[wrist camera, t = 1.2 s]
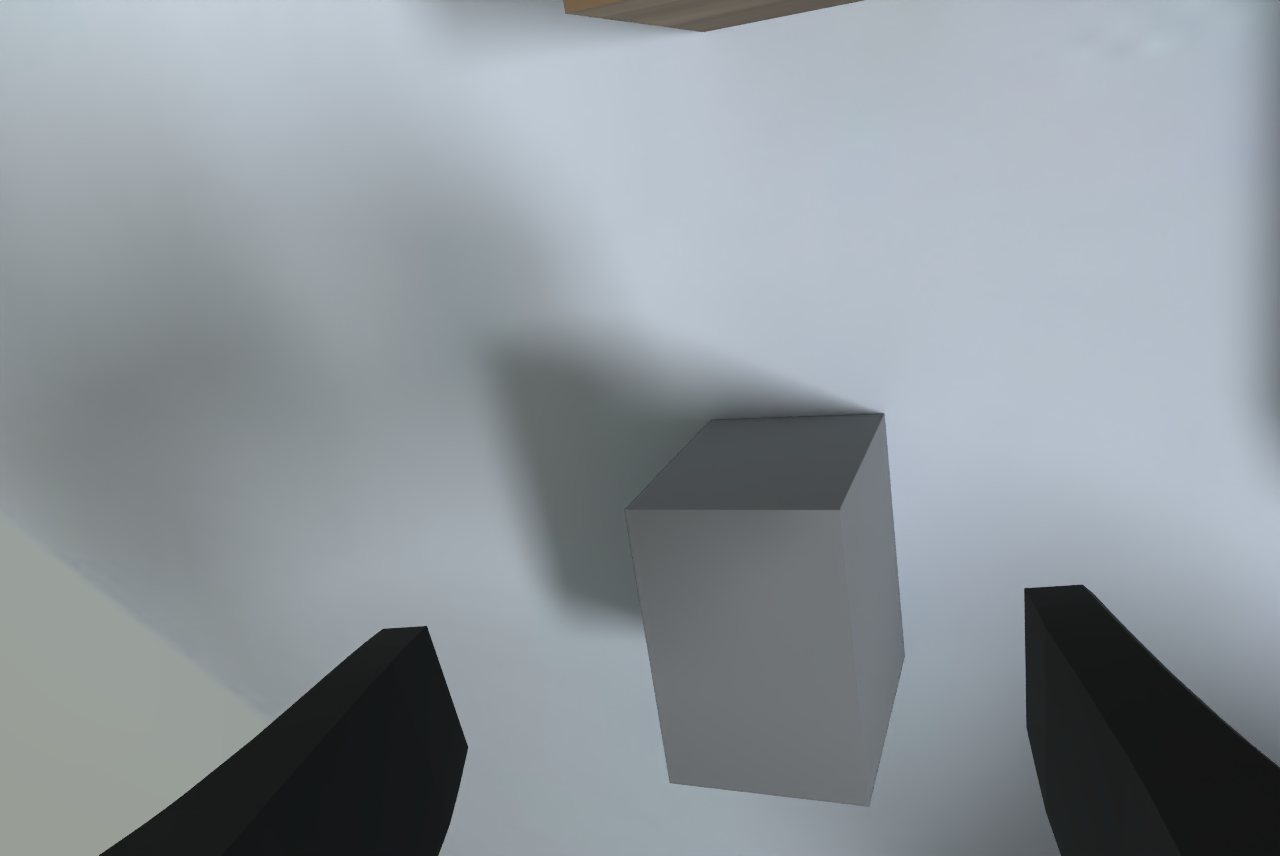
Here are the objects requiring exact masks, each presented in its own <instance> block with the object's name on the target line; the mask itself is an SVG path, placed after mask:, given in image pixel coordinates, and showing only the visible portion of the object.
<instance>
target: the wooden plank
mask: <svg viewBox="0 0 1280 856" xmlns="http://www.w3.org/2000/svg"><path fill="white" fill-rule="evenodd" d="M563 1H564V7H565V13H566V14H573V15H581V16H589V17H596V18H604V19H611V20H619V21H626V22H634V23H641V24H649V25H656V26H664V27H671V28H679V29H686V30H694V31H701V32H706V31H711V30H716V29H721V28H726V27H731V26H736V25H741V24H746V23H751V22H757V21H762V20H767V19H772V18H777V17H782V16H787V15H792V14H797V13H802V12H807V11H812V10H817V9H822V8H827V7H832V6H837V5H843V4H848V3H853V2H858V1H863V0H563Z"/></svg>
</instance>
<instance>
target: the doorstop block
mask: <svg viewBox="0 0 1280 856" xmlns="http://www.w3.org/2000/svg"><path fill="white" fill-rule="evenodd" d="M625 516H626V522H627V528H628V534H629V540H630V546H631V552H632V558H633V564H634V570H635V576H636V582H637V588H638V594H639V600H640V606H641V612H642V618H643V624H644V630H645V636H646V642H647V648H648V654H649V660H650V667H651V673H652V679H653V685H654V691H655V697H656V703H657V709H658V715H659V721H660V727H661V733H662V739H663V745H664V751H665V757H666V763H667V769H668V775H669V781H670V783H674V784H682V785H690V786H699V787H707V788H716V789H724V790H733V791H741V792H750V793H758V794H767V795H775V796H784V797H792V798H801V799H809V800H818V801H826V802H835V803H843V804H852V805H860V806H869V805H870V801H871V796H872V792H873V788H874V784H875V779H876V775H877V771H878V767H879V763H880V758H881V754H882V750H883V746H884V741H885V737H886V733H887V729H888V725H889V720H890V716H891V712H892V708H893V703H894V699H895V695H896V691H897V686H898V682H899V678H900V674H901V670H902V665H903V661H904V657H905V653H904V641H903V629H902V617H901V605H900V593H899V581H898V569H897V557H896V545H895V533H894V521H893V509H892V497H891V485H890V473H889V461H888V449H887V437H886V425H885V414H859V415H831V416H803V417H774V418H746V419H718V420H710V421H709V422H708V423H707V425H706V426H705V427H704V428H703V429H702V430H701V431H700V432H699V433H698V434H697V435H696V436H695V437H694V438H693V439H692V440H691V441H690V442H689V443H688V444H687V445H686V446H685V447H684V448H683V449H682V450H681V452H680V453H679V454H678V455H677V456H676V457H675V458H674V459H673V460H672V461H671V462H670V463H669V464H668V465H667V466H666V467H665V468H664V469H663V470H662V471H661V472H660V473H659V474H658V475H657V476H656V477H655V479H654V480H653V481H652V482H651V483H650V484H649V485H648V486H647V487H646V488H645V489H644V490H643V491H642V492H641V493H640V494H639V495H638V496H637V497H636V498H635V499H634V500H633V501H632V502H631V503H630V504H629V506H628V507H627V508H626V509H625Z"/></svg>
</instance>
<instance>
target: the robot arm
mask: <svg viewBox="0 0 1280 856" xmlns="http://www.w3.org/2000/svg"><path fill="white" fill-rule="evenodd" d="M1024 593H1025V657H1026V720H1027V731H1028V736H1029V740H1030V745H1031V749H1032V754H1033V758H1034V763H1035V767H1036V771H1037V776H1038V780H1039V784H1040V788H1041V793H1042V797H1043V801H1044V805H1045V810H1046V813H1047V816H1048V819H1049V822H1050V825H1051V828H1052V831H1053V833H1054V836H1055V839H1056V842H1057V845H1058V848H1059V850H1060V853H1061V856H1280V767H1279V766H1277V765H1276V764H1275V763H1274V762H1272V761H1271V760H1270V759H1269V758H1268V757H1266V756H1265V755H1264V754H1263V753H1261V752H1260V751H1259V750H1258V749H1257V748H1255V747H1254V746H1253V745H1252V744H1250V743H1249V742H1248V741H1247V740H1246V739H1245V738H1243V737H1242V736H1241V735H1240V734H1239V733H1238V732H1236V731H1235V730H1234V729H1233V728H1232V727H1231V726H1230V725H1228V724H1227V723H1226V722H1225V721H1224V720H1223V719H1221V718H1220V717H1219V716H1218V715H1217V714H1216V713H1215V712H1214V711H1213V710H1212V709H1210V708H1209V707H1208V706H1207V705H1206V704H1205V703H1204V702H1203V701H1202V700H1201V699H1199V698H1198V697H1197V696H1196V695H1195V694H1194V693H1193V692H1192V691H1191V690H1190V689H1188V688H1187V687H1186V686H1185V685H1184V684H1183V683H1182V682H1181V681H1180V680H1179V679H1178V678H1177V677H1175V676H1174V675H1173V674H1172V673H1171V672H1170V671H1169V670H1168V669H1167V668H1166V667H1165V666H1164V665H1163V664H1162V663H1161V662H1160V661H1159V660H1158V659H1157V658H1156V657H1155V656H1154V655H1153V654H1152V653H1151V652H1150V651H1149V650H1148V649H1147V648H1146V647H1145V646H1144V645H1143V644H1142V643H1141V642H1140V641H1139V640H1138V639H1137V638H1136V637H1135V636H1134V635H1133V634H1132V633H1131V632H1130V631H1129V630H1128V629H1127V628H1126V627H1125V626H1124V625H1123V624H1122V623H1121V622H1120V621H1119V620H1118V619H1117V618H1116V617H1115V616H1114V615H1113V614H1112V613H1111V612H1110V611H1109V610H1108V609H1107V608H1106V606H1105V605H1104V604H1103V603H1102V602H1101V601H1100V600H1099V599H1098V598H1097V597H1096V596H1095V595H1094V594H1093V593H1092V592H1091V591H1090V590H1088V589H1087V588H1086V587H1085V586H1083V585H1071V586H1055V587H1039V588H1024ZM467 750H468V745H467V743H466V740H465V737H464V734H463V731H462V728H461V725H460V722H459V719H458V716H457V713H456V710H455V707H454V704H453V701H452V698H451V696H450V693H449V690H448V687H447V684H446V681H445V678H444V675H443V672H442V669H441V666H440V663H439V660H438V657H437V654H436V651H435V649H434V646H433V643H432V640H431V637H430V634H429V631H428V628H427V626H422V627H406V628H390V629H382V630H381V631H380V632H378V633H377V634H376V635H374V636H373V637H372V638H370V639H369V640H368V641H367V642H365V643H364V644H363V645H362V646H360V647H359V648H358V649H357V650H356V651H354V652H353V653H352V654H351V655H350V656H348V657H347V658H346V659H345V660H344V661H343V662H341V663H340V664H339V665H338V666H337V667H336V668H335V669H333V670H332V671H331V672H330V673H329V674H328V675H327V676H325V677H324V678H323V679H322V680H321V681H320V682H318V683H317V684H316V685H315V686H314V687H313V688H312V689H310V690H309V691H308V692H307V693H306V694H305V695H304V696H302V697H301V698H300V699H299V700H298V701H297V702H295V703H294V704H293V705H292V706H291V707H290V708H289V709H287V710H286V711H285V712H284V713H283V714H282V715H280V716H279V717H278V718H277V719H276V720H275V721H273V722H272V723H271V724H270V725H269V726H268V727H267V728H265V729H264V730H263V731H262V732H261V733H260V734H259V735H257V736H256V737H255V738H254V739H253V740H251V741H250V742H249V743H248V744H246V745H245V746H244V747H243V748H241V749H240V750H239V751H238V752H236V753H235V754H234V755H233V756H231V757H230V758H229V759H228V760H227V761H225V762H224V763H223V764H221V765H220V766H219V767H218V768H217V769H215V770H214V771H213V772H211V773H210V774H209V775H208V776H207V777H205V778H204V779H203V780H202V781H200V782H199V783H198V784H197V785H195V786H194V787H193V788H192V789H190V790H189V791H188V792H187V793H185V794H184V795H183V796H182V797H180V798H179V799H177V800H176V801H175V802H174V803H172V804H171V805H170V806H168V807H167V808H166V809H164V810H163V811H161V812H160V813H159V814H157V815H156V816H155V817H153V818H152V819H151V820H149V821H148V822H147V823H145V824H144V825H142V826H141V827H140V828H138V829H137V830H135V831H134V832H132V833H131V834H129V835H128V836H126V837H125V838H124V839H122V840H121V841H119V842H118V843H116V844H115V845H114V846H112V847H110V848H109V849H108V850H106V851H105V852H103V853H102V854H100V855H99V856H438V855H439V852H440V850H441V847H442V844H443V842H444V839H445V836H446V833H447V830H448V828H449V825H450V822H451V818H452V814H453V810H454V806H455V802H456V798H457V794H458V791H459V786H460V782H461V777H462V773H463V768H464V764H465V759H466V755H467Z"/></svg>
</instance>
